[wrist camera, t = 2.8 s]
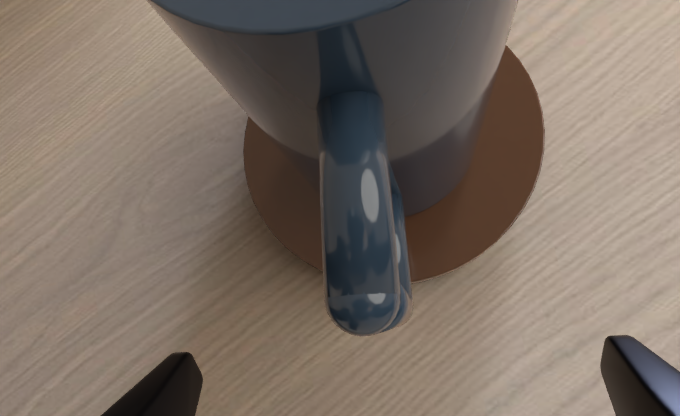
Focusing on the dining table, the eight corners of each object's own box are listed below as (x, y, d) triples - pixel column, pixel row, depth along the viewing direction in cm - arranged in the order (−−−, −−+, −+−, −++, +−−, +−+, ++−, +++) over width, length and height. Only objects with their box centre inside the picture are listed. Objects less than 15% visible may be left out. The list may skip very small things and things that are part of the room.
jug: (251, 42, 24) (27, -308, 10) (513, -5, 21) (656, -546, 8) (250, 332, 20) (-121, 365, 6) (574, 316, 17) (1083, 313, 4)
